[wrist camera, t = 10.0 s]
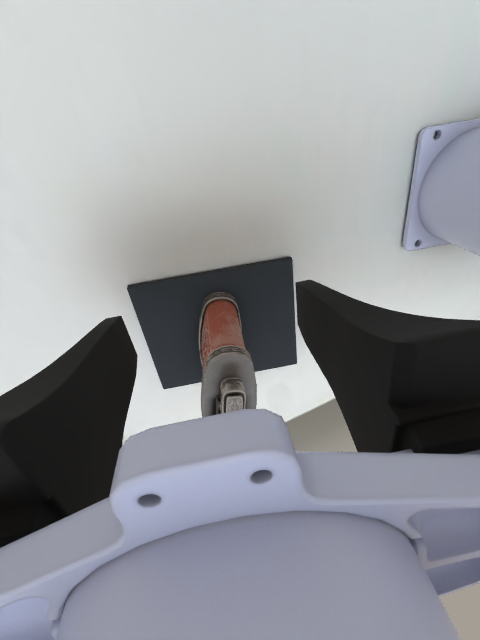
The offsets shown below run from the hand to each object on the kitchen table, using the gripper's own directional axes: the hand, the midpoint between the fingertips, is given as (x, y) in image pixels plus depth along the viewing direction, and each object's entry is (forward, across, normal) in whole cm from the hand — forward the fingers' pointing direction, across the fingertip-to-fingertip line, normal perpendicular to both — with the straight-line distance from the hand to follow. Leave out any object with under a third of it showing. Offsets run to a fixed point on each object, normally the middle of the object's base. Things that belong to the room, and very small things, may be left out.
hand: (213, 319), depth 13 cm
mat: (+10, 0, +7) cm, 13 cm away
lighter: (+10, 0, +8) cm, 13 cm away
